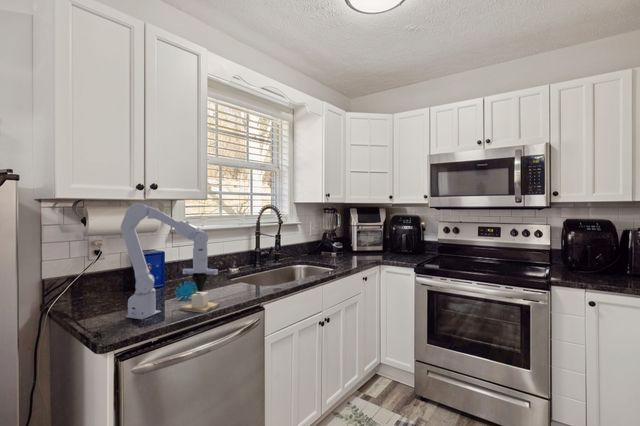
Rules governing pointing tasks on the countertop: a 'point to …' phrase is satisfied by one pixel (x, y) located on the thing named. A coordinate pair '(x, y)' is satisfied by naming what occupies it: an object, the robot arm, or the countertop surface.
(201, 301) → the white cube
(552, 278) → the countertop surface
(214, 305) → the shaft plate
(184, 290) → the gear
